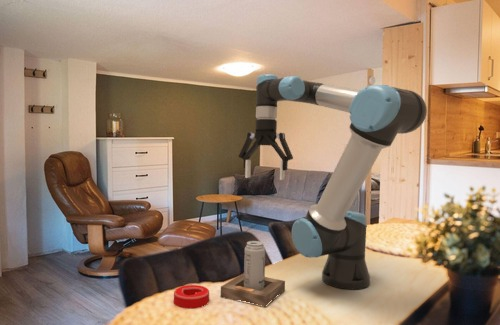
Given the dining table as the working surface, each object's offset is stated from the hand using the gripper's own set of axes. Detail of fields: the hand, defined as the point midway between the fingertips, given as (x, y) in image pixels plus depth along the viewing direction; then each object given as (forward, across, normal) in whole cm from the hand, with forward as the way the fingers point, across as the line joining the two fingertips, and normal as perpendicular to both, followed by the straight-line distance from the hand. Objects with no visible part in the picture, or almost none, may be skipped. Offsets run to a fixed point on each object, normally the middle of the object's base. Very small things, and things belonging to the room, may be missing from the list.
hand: (264, 178), depth 136 cm
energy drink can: (+32, -9, +25) cm, 41 cm away
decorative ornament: (+32, +3, +38) cm, 50 cm away
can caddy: (+32, -9, +25) cm, 41 cm away
